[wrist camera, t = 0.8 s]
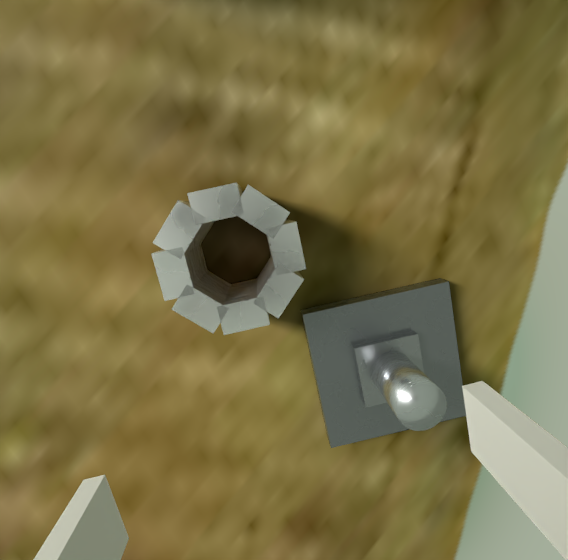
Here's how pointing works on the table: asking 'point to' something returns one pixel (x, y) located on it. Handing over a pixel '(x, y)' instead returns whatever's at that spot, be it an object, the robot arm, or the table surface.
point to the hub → (212, 289)
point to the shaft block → (386, 362)
